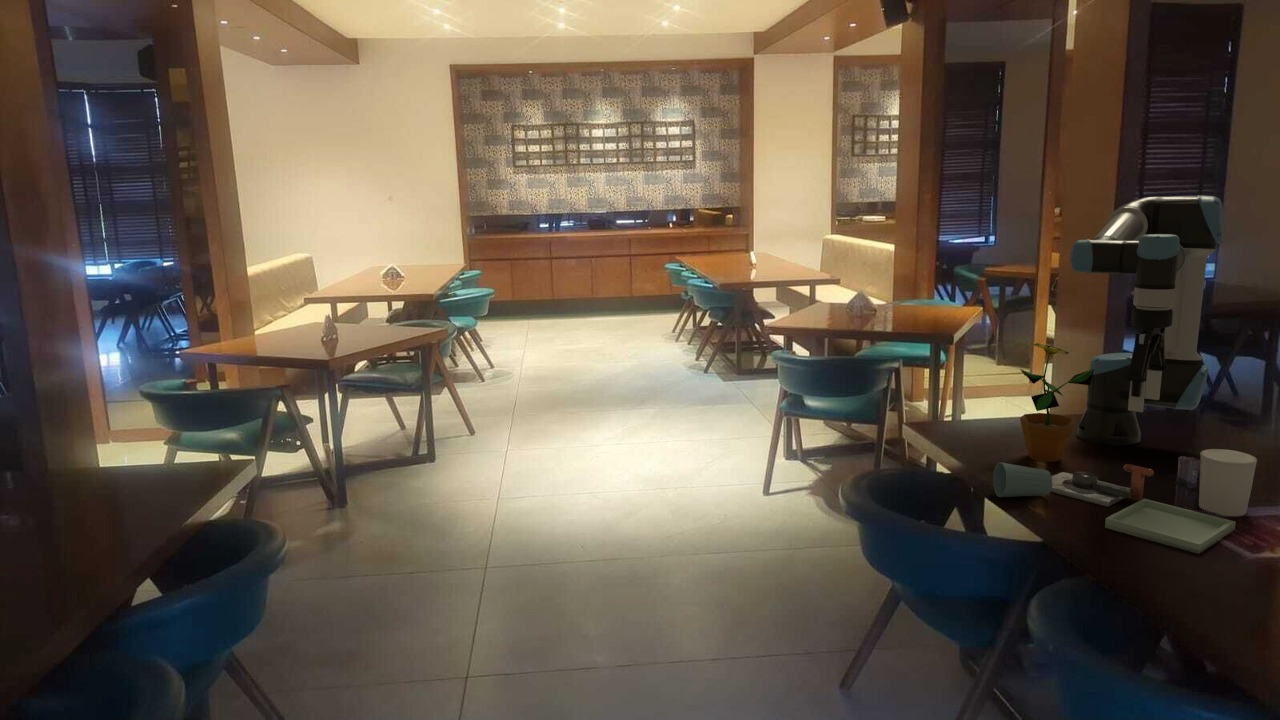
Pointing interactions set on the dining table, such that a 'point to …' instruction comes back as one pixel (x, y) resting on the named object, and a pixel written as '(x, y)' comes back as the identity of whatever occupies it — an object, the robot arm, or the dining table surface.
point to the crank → (1134, 493)
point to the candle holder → (1225, 481)
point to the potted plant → (1048, 416)
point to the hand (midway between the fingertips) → (1143, 404)
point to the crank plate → (1081, 491)
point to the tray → (1170, 525)
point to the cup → (1021, 481)
